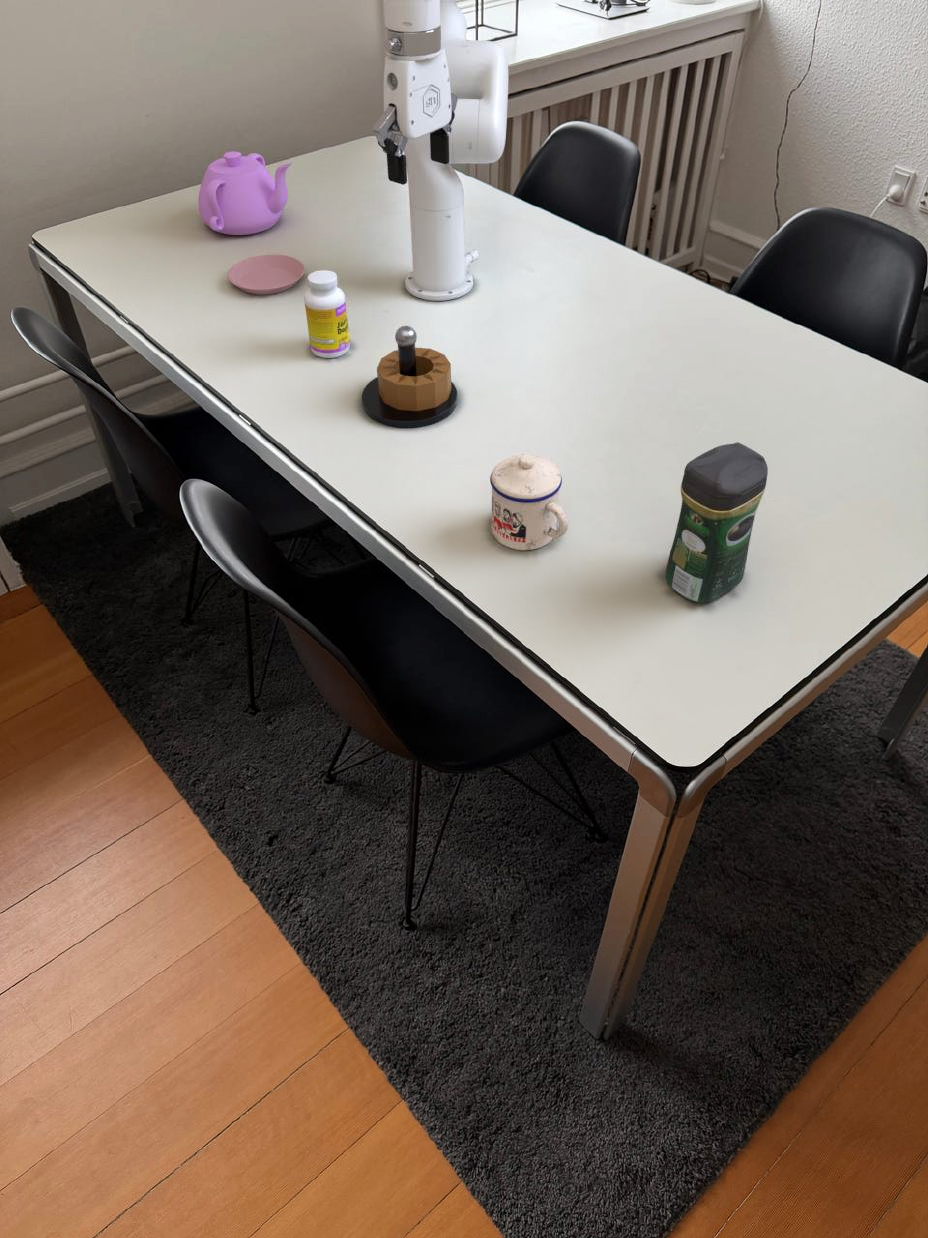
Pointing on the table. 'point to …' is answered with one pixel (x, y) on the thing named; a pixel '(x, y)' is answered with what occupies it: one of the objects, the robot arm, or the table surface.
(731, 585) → the coffee jar
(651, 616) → the table surface
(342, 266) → the table surface
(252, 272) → the plate
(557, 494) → the teacup with lid
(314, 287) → the supplement bottle
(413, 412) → the stand
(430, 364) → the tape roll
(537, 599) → the table surface
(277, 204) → the teapot
